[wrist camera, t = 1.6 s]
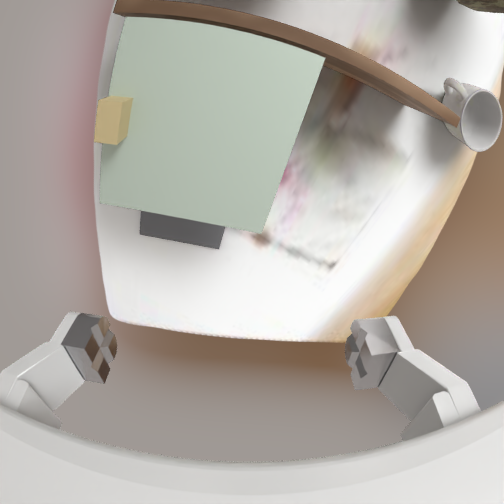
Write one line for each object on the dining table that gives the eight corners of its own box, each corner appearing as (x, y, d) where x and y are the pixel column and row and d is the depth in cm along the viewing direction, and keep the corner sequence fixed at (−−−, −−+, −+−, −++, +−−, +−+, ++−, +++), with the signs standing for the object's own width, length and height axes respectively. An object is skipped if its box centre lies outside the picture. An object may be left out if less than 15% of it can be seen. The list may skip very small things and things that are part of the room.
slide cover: (129, 18, 18) (114, 12, 15) (322, 57, 22) (336, 57, 19) (102, 199, 29) (89, 216, 26) (260, 229, 34) (264, 249, 31)
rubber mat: (145, 179, 41) (144, 181, 40) (233, 197, 44) (233, 198, 44) (140, 232, 47) (139, 234, 46) (218, 247, 50) (218, 249, 49)
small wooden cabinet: (151, 16, 26) (117, -1, 15) (407, 97, 34) (460, 117, 24) (122, 161, 39) (88, 201, 28) (355, 213, 47) (386, 260, 37)
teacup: (480, 115, 35) (508, 129, 29) (449, 147, 40) (476, 165, 33) (448, 54, 29) (480, 60, 23) (413, 87, 33) (444, 97, 27)
